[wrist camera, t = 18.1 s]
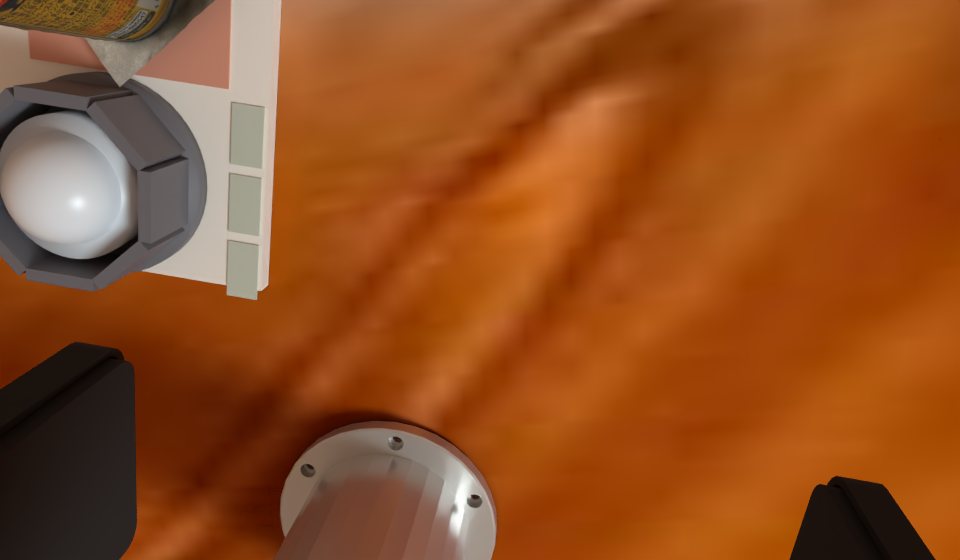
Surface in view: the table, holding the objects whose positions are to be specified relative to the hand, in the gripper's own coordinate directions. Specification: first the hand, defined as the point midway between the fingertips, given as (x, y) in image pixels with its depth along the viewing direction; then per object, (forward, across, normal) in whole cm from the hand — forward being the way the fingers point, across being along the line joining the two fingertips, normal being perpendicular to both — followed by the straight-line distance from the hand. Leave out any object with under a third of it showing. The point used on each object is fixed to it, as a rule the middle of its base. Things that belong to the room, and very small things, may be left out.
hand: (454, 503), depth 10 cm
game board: (+28, +20, -1) cm, 35 cm away
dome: (+26, +21, +4) cm, 34 cm away
